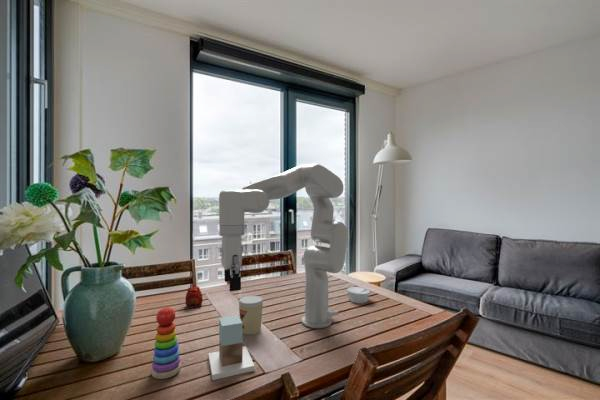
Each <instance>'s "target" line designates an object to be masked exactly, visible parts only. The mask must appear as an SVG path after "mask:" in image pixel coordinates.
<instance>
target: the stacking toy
mask: <svg viewBox="0 0 600 400" xmlns="http://www.w3.org/2000/svg"><path fill="white" fill-rule="evenodd" d="M155 318H156V322H157V324H158V325H157V327H156V335H155V338H154V339H155V341H154V349H153V353H154V354H153V359H152V363H151V367H152V368H151V376H152V377H153V378H154V379H156V380H165V379H168V378H172V377H174V376H175V375H177V374H178V373H179V372H180V371H181V369H182V362H181V357H180V349H179V342H178V337H177V330H175V329H176V324H175V322H174V320H176V312H175V310H174V309H173V308H171V307H163V308H162V309H161V308H160V310H159V311H158V312H157V313H156V317H155Z"/></svg>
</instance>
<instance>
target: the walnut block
mask: <svg viewBox="0 0 600 400" xmlns="http://www.w3.org/2000/svg"><path fill="white" fill-rule="evenodd" d="M218 338H219V337H218ZM243 343H244V342H243V341H242V343H237V344H232V345H227V346H222V345H221V342H220V338H219V345H218V347H219V350H218V351H219V357H220V361H221V364H222V367H223V366H228V365H232V364H237V363H241V362H242V355H243V347H244V346H243V345H244V344H243Z"/></svg>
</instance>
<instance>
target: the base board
mask: <svg viewBox="0 0 600 400" xmlns="http://www.w3.org/2000/svg"><path fill="white" fill-rule="evenodd" d="M208 363H209V364H208V365H209V368H210V375H211V381H216V380H219V379H220V380H221V379H223V378H224V379H225V378H228V377H232V376H237V375H241V374H245V373H250V372H254V371H255V364H254V362H253V359H252V357H251V355H250V353H249V350H248V347H247V346H246V345H245V346H243V355H242V362H241V363H237V364H232V365H228V366H223V367H222V364H221V361H220V357H219V350H218V351H213V352H208Z"/></svg>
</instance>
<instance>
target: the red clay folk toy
mask: <svg viewBox="0 0 600 400" xmlns="http://www.w3.org/2000/svg"><path fill="white" fill-rule="evenodd" d="M195 276H196V275H195V274H193V275H192V276H189V279H192V278H193V285H192V287H188V289H187V292H186V295H185V305H186V306H185V307H186V308H189V309H190V308H195V309H196V308H199V307H201V306H202V304H203V302H204V301H203V293H202V291H201V289H200V286H196V280H195V279H196V278H195Z"/></svg>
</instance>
